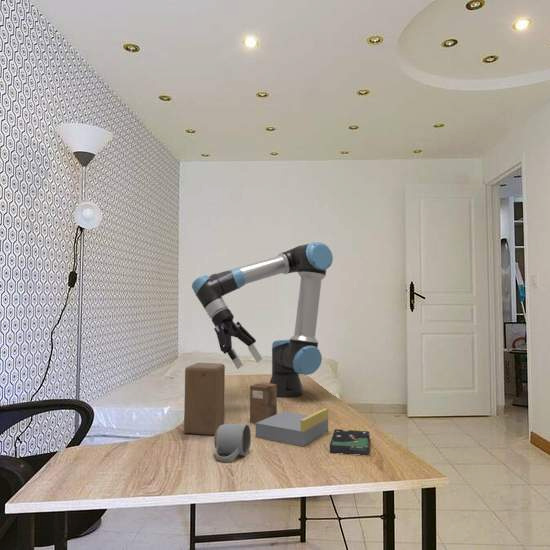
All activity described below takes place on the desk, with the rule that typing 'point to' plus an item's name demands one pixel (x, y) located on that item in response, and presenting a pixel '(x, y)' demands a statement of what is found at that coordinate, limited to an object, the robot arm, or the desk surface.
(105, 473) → the desk surface
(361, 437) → the disk drive
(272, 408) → the cardboard box
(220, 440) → the ceramic mug
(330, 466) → the desk surface
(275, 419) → the dock
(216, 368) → the wooden block
